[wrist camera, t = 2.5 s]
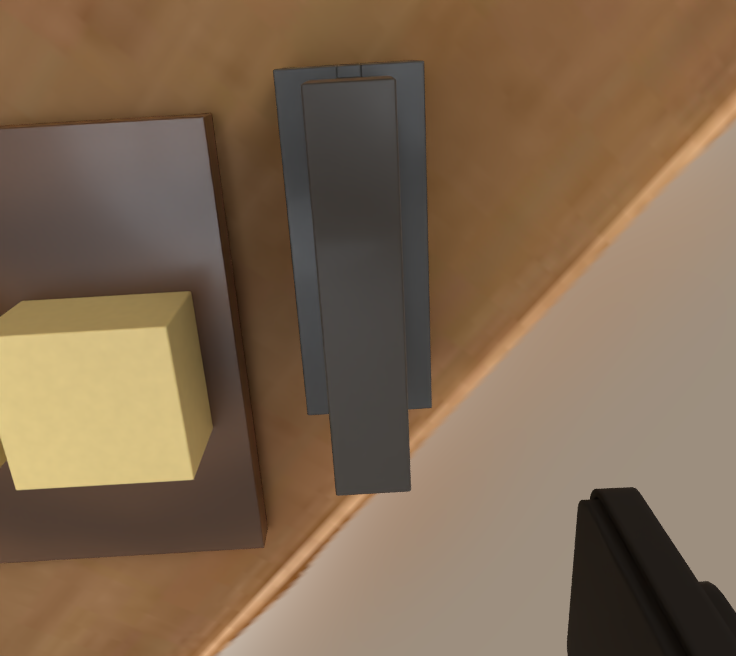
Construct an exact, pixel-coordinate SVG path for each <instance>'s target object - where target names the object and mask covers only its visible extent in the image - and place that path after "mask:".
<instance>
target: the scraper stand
mask: <svg viewBox="0 0 736 656" xmlns="http://www.w3.org/2000/svg"><path fill="white" fill-rule="evenodd" d="M273 75H274V85H275V95H276V105H277V115H278V125H279V135H280V145H281V155H282V165H283V175H284V185H285V195H286V205H287V215H288V225H289V234H290V244H291V254H292V264H293V274H294V284H295V294H296V304H297V314H298V324H299V334H300V344H301V354H302V364H303V374H304V384H305V394H306V404H307V414H308V415H321V414H329V407H328V396H327V384H326V373H325V361H324V350H323V338H322V327H321V315H320V304H319V292H318V281H317V269H316V258H315V246H314V234H313V223H312V211H311V200H310V188H309V177H308V165H307V154H306V142H305V131H304V119H303V108H302V96H301V84H303V83H304V82H306V81H308V80H324V79H341V78H358V77H375V76H391V77H393V78H395V79H396V94H397V121H398V149H399V176H400V203H401V230H402V257H403V284H404V312H405V339H406V366H407V393H408V409H422V408H431V407H432V398H431V352H430V306H429V261H428V215H427V170H426V124H425V78H424V61H417V60H408V61H391V62H374V63H360V64H358V63H357V64H341V65H324V66H307V67H290V68H281V69H275V70H273Z"/></svg>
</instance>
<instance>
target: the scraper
mask: <svg viewBox="0 0 736 656" xmlns="http://www.w3.org/2000/svg"><path fill="white" fill-rule="evenodd" d="M301 96H302V108H303V119H304V131H305V142H306V154H307V165H308V177H309V188H310V200H311V211H312V223H313V234H314V246H315V258H316V269H317V281H318V292H319V304H320V315H321V327H322V338H323V350H324V361H325V373H326V384H327V396H328V407H329V419H330V430H331V442H332V453H333V465H334V476H335V488H336V495H338V496H339V495H356V494H373V493H390V492H406V491H410V490H411V477H410V476H411V475H410V447H409V420H408V393H407V366H406V339H405V312H404V284H403V257H402V230H401V203H400V176H399V149H398V121H397V94H396V79H395V78H393V77H391V76H375V77H358V78H341V79H324V80H308V81H306V82H304V83H303V84H301Z"/></svg>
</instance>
